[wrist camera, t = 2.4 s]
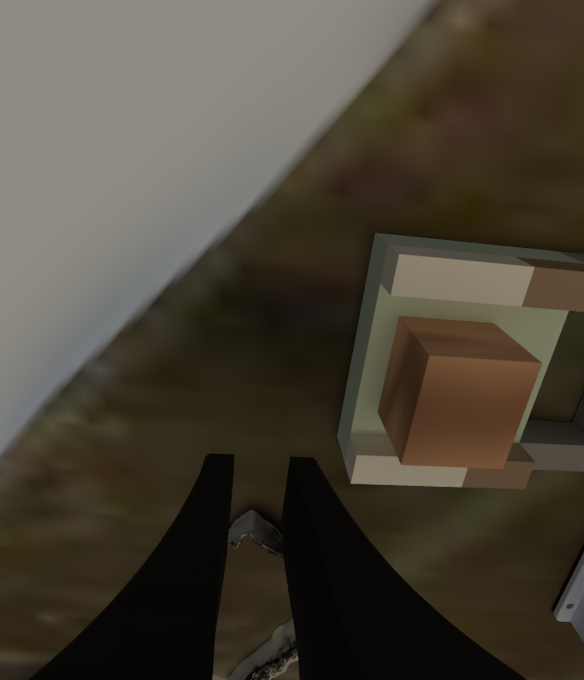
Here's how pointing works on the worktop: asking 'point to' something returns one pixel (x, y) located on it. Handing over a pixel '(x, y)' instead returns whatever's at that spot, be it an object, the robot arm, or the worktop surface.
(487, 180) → the worktop surface
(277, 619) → the worktop surface
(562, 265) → the board
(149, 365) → the worktop surface
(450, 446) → the block
